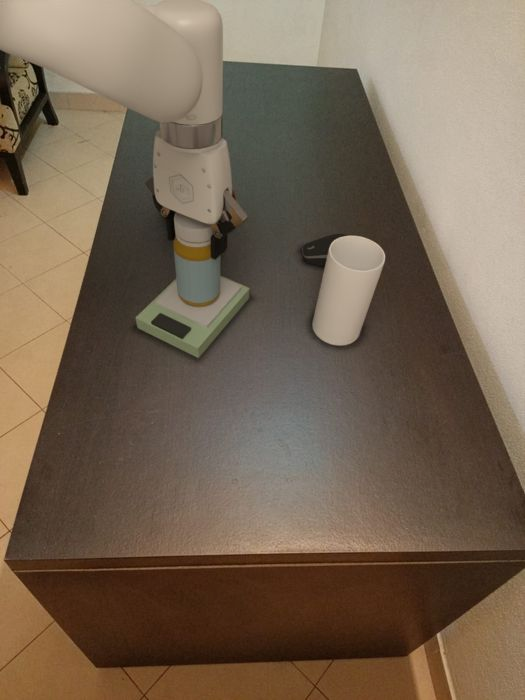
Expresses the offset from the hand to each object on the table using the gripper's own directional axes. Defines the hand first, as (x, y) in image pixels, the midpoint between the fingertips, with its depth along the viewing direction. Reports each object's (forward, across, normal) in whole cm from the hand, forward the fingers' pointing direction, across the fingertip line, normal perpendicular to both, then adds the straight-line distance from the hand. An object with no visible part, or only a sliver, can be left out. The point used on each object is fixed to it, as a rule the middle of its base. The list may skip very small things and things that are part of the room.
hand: (196, 244), depth 70 cm
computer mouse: (+14, +14, +26) cm, 32 cm away
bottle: (+10, 0, 0) cm, 10 cm away
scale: (+14, 0, -1) cm, 14 cm away
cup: (+14, +22, +9) cm, 27 cm away
